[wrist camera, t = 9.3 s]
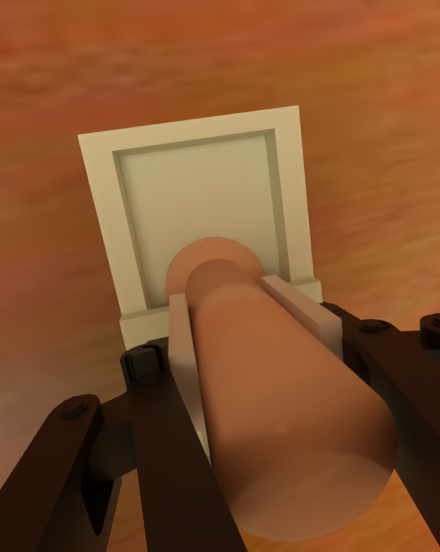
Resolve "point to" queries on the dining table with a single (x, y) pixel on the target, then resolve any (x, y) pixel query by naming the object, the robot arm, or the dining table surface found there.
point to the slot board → (198, 204)
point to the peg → (278, 403)
